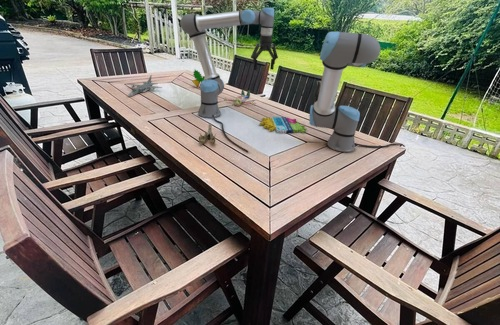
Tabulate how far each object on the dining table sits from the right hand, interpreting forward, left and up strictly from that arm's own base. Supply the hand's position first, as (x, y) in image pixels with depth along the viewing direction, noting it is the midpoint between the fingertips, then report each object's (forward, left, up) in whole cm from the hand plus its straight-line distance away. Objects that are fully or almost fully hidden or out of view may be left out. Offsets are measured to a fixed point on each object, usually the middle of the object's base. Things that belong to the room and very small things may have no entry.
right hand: (322, 107), depth 174 cm
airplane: (+136, -73, -13) cm, 155 cm away
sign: (+26, +1, -13) cm, 30 cm away
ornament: (+85, -96, -13) cm, 129 cm away
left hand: (+38, -22, +19) cm, 48 cm away
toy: (+50, -53, -13) cm, 74 cm away
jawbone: (+74, +29, -13) cm, 80 cm away
